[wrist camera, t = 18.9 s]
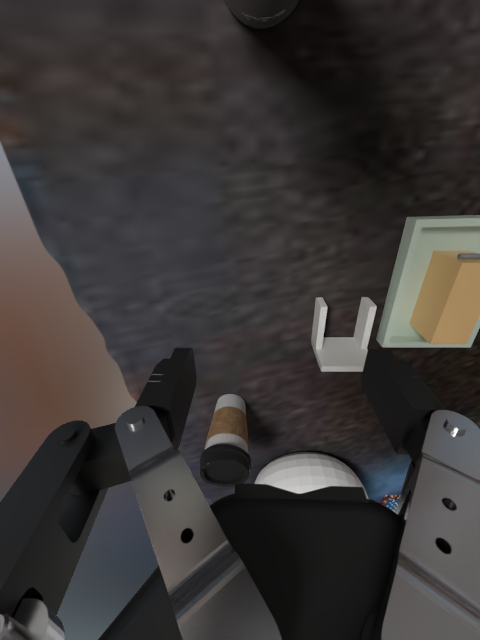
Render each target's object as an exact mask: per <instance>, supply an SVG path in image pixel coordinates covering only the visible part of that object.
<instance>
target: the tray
mask: <svg viewBox="0 0 480 640" xmlns="http://www.w3.org/2000/svg"><path fill="white" fill-rule="evenodd" d="M433 251H472V252H475V253H480V215H462V216H423V217H407V218H406V222H405V226H404V230H403V234H402V238H401V242H400V246H399V250H398V254H397V258H396V262H395V266H394V270H393V274H392V278H391V282H390V286H389V290H388V294H387V298H386V302H385V306H384V310H383V314H382V318H381V322H380V326H379V329H378V333H377V337H376V340H377V341H378V343H379V344H380V345H381V347H471V345H472V343H473V341H474V339H475V337H476V335H477V332H478V330H479V328H480V316H479V318H478V320H477V322H476V325H475V327H474V329H473V331H472V333H471V335H470V337H469V339H468V341H467V344H430V343H429V342H428V341H427V340H426V339H425V338H424V337H423V336H421V335H420V334H419V333H418V332H417V331H416V330H415V329H414V328H413V327H412V326H411V325H410V324H409V323H410V320H411V317H412V314H413V311H414V308H415V305H416V302H417V299H418V296H419V293H420V290H421V287H422V284H423V281H424V278H425V275H426V272H427V269H428V266H429V263H430V260H431V257H432V254H433Z"/></svg>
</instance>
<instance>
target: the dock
mask: <svg viewBox="0 0 480 640" xmlns="http://www.w3.org/2000/svg"><path fill="white" fill-rule="evenodd" d="M327 308H328V307H327V305H326V303H325V301H324V300H323V298H316V303H315V312H314V320H313V329H312V338H311V344H312V347H313V350H314V353H315V355H316V358H317V361H318V364H319V367H320V370H321V371H332V372H363V368H364V364H365V360H366V356H367V352H368V350H367V346H368V342H369V338H370V334H371V329H372V325H373V321H374V317H375V313H376V308H377V306H376V305H375V304H374V303H373V302H372V301H371V300H370V299H369V298H368V297H362V298H361V303H360V308H359V313H358V318H357V323H356V328H355V332H354V337H324V329H325V322H326V315H327Z"/></svg>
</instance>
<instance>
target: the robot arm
mask: <svg viewBox="0 0 480 640" xmlns="http://www.w3.org/2000/svg"><path fill="white" fill-rule="evenodd" d="M225 2H226V4H227V6H228V7H229V9H230V11H231V12H232V13H233V14H234V15H235V17H236V18H237V19H238V20H240V21H241V22H242V23H244V24H245V25H247V26H250V27H252V28H259V29H264V28H269V27H273V26H275V25H277V24H279V23H280V22H282V21H283V20H284V19H285V18H286V17H288V16H289V15H290V13H291V12H292V11H293V10H294V8H295V7H296V6H297V4H298V2H299V0H225ZM362 386H363V389H364V391H365V393H366V395H367V397H368V399H369V401H370V403H371V405H372V407H373V409H374V411H375V413H376V415H377V417H378V419H379V421H380V423H381V425H382V427H383V428H384V430H385V432H386V434H387V436H388V438H389V440H390V442H391V444H392V446H393V448H394V450H395V452H396V454H409V455H410V457H411V459H412V460H411V463H410V465H409V468H408V472H407V475H406V478H405V482H404V485H403V489H402V492H401V496H400V499H399V502H398V505H397V508H396V511H395V512H393V511H392V510H390V509H389V508H387V507H385V506H383V505H381V504H380V503H377V502H375V501H373V500H370V499H367V498H366V495H365V493H364V490H363V487H346V486H329V487H325V488H321V489H318V490H314V491H310V492H306V493H302V494H298V493H294V492H290V491H287V490H284V489H280V488H277V487H274V486H270V485H267V484H240V483H235V494H231V495H228V496H226V497H223V498H221V499H219V500H218V501H216V502H214V503H213V504H212V505H210V506H209V505H208V503H207V501H206V499H205V497H204V496H203V494H202V492H201V490H200V488H199V486H198V485H197V483H196V481H195V479H194V477H193V475H192V473H191V472H190V470H189V468H188V466H187V464H186V462H185V461H184V459H183V457H182V455H181V453H180V452H179V450H178V449H177V448H179V445H180V441H181V438H182V434H183V430H184V427H185V423H186V419H187V416H188V412H189V409H190V405H191V401H192V398H193V394H194V390H195V387H196V369H195V362H194V355H193V350H192V348H175V350H174V352H173V354H172V356H171V358H170V359H163V360H162V361H161V362H160V363H158V364H157V365H156V366H155V368H154V370H153V372H152V375H151V376H150V378H149V380H148V382H147V384H146V386H145V388H144V390H143V392H142V394H141V396H140V398H139V400H138V402H137V404H136V405H135V407H134V408H131V409H129V410H127V411H126V412H124V413H123V414H122V415H121V416H120V417H119V418H118V419H117V421H116V423H113V424H110V425H106V426H102V427H98V428H94V429H91V428H90V426H89V424H88V423H87V422H84V421H72V422H68V423H66V424H63V425H61V426H60V427H58V428H57V429H55V430H54V431H53V432H52V433H51V434H50V435H49V436H48V437H47V438H46V440H45V441H44V443H43V444H42V445H41V447H40V448H39V450H38V451H37V452H36V454H35V455H34V456H33V458H32V459H31V460H30V462H29V463H28V465H27V466H26V467H25V469H24V470H23V472H22V473H21V474H20V476H19V477H18V479H17V480H16V481H15V483H14V484H13V486H12V487H11V488H10V490H9V491H8V493H7V494H6V495H5V497H4V498H3V499H2V501H1V502H0V640H64V639H65V631H64V626H63V623H62V621H61V620H60V618H59V617H58V616H56V615H57V612H58V610H59V607H60V605H61V603H62V600H63V598H64V595H65V593H66V590H67V588H68V586H69V583H70V581H71V578H72V576H73V573H74V570H75V568H76V566H77V563H78V561H79V559H80V556H81V553H82V551H83V549H84V546H85V544H86V541H87V539H88V536H89V534H90V532H91V529H92V527H93V524H94V521H95V519H96V517H97V514H98V511H99V509H100V507H101V504H102V502H103V500H104V497H105V495H106V492H107V490H108V487H112V486H115V485H118V484H122V483H125V482H128V481H131V482H132V485H133V488H134V491H135V494H136V497H137V500H138V503H139V506H140V509H141V512H142V515H143V518H144V521H145V524H146V527H147V530H148V533H149V537H150V540H151V543H152V546H153V548H154V552H155V555H156V558H157V561H158V564H159V566H158V567H157V568H156V569H155V571H154V572H153V573H152V574H151V576H150V577H149V578H148V579H147V581H146V582H145V583H144V584H143V585H142V587H141V588H140V589H139V590H138V591H137V593H136V594H135V595H134V596H133V598H132V599H131V600H130V601H129V602H128V604H127V605H126V606H125V607H124V609H123V610H122V611H121V612H120V613H119V615H118V616H117V617H116V618H115V620H114V621H113V622H112V623H111V624H110V626H109V627H108V628H107V629H106V631H105V632H104V633H103V634H102V635H101V637H100V638H99V639H98V640H480V429H479V428H478V427H477V425H476V424H475V423H473V422H472V421H471V420H469V419H468V418H466V417H465V416H463V415H461V414H458V413H456V412H453V411H448V410H447V409H446V407H445V406H444V405H443V404H442V402H441V401H440V400H439V399H438V398H437V396H436V395H435V394H434V393H433V392H432V390H431V389H430V388H429V387H428V385H426V383H425V382H424V381H423V379H422V378H420V376H419V375H418V373H417V372H416V371H415V370H414V369H413V367H411V366H410V365H408V364H407V363H405V362H404V361H402V360H397V358H396V357H395V356H394V355H393V353H392V352H391V351H390V350H389V349H369V350H368V352H367V356H366V360H365V364H364V368H363V372H362Z"/></svg>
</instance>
